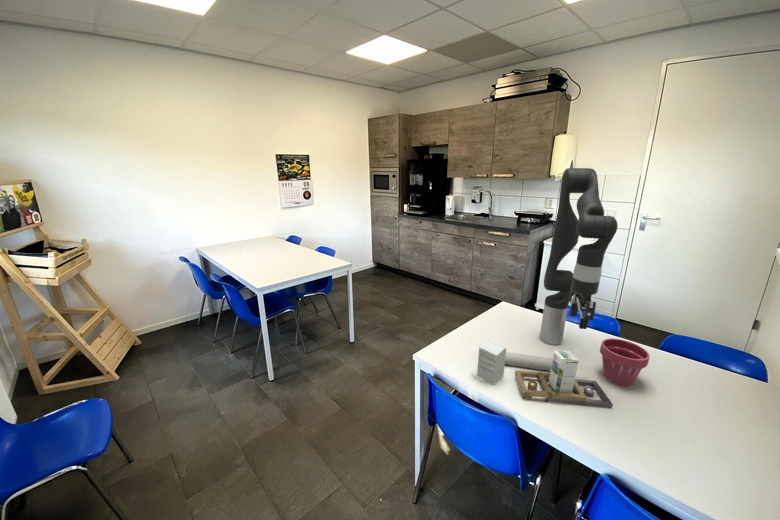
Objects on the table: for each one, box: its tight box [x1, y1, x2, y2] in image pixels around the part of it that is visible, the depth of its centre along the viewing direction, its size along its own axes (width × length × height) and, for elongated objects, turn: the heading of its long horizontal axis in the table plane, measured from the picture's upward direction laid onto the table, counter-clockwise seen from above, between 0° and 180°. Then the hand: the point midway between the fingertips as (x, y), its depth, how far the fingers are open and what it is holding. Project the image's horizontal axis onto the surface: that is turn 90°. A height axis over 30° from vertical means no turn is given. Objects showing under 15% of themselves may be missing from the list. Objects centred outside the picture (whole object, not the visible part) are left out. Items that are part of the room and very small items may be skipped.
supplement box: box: [476, 339, 507, 386], centre depth 118 cm, size 7×7×13 cm
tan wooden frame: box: [514, 369, 588, 402], centre depth 112 cm, size 12×20×3 cm, turn 81°
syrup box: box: [548, 350, 579, 394], centre depth 110 cm, size 6×6×14 cm
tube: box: [505, 351, 553, 372], centre depth 126 cm, size 5×5×25 cm
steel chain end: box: [536, 378, 613, 409], centre depth 111 cm, size 12×20×2 cm, turn 81°
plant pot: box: [599, 338, 651, 387], centre depth 117 cm, size 14×14×13 cm
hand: (577, 321), depth 108 cm, fingers open, 8 cm apart
